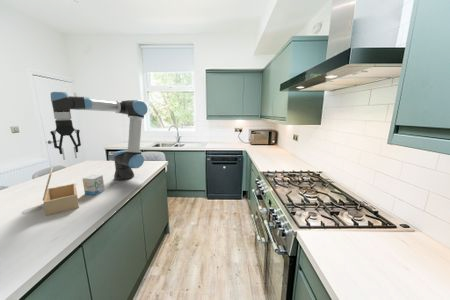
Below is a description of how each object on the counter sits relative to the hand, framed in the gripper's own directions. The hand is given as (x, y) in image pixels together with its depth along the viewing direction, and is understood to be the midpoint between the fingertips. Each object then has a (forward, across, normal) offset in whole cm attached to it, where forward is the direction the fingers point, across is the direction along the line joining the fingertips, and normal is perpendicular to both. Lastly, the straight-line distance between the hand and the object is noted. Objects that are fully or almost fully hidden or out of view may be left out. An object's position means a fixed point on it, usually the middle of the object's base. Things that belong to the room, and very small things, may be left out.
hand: (70, 158), depth 116 cm
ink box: (+28, -10, -8) cm, 31 cm away
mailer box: (+28, +7, 0) cm, 29 cm away
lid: (+12, +11, 0) cm, 17 cm away
